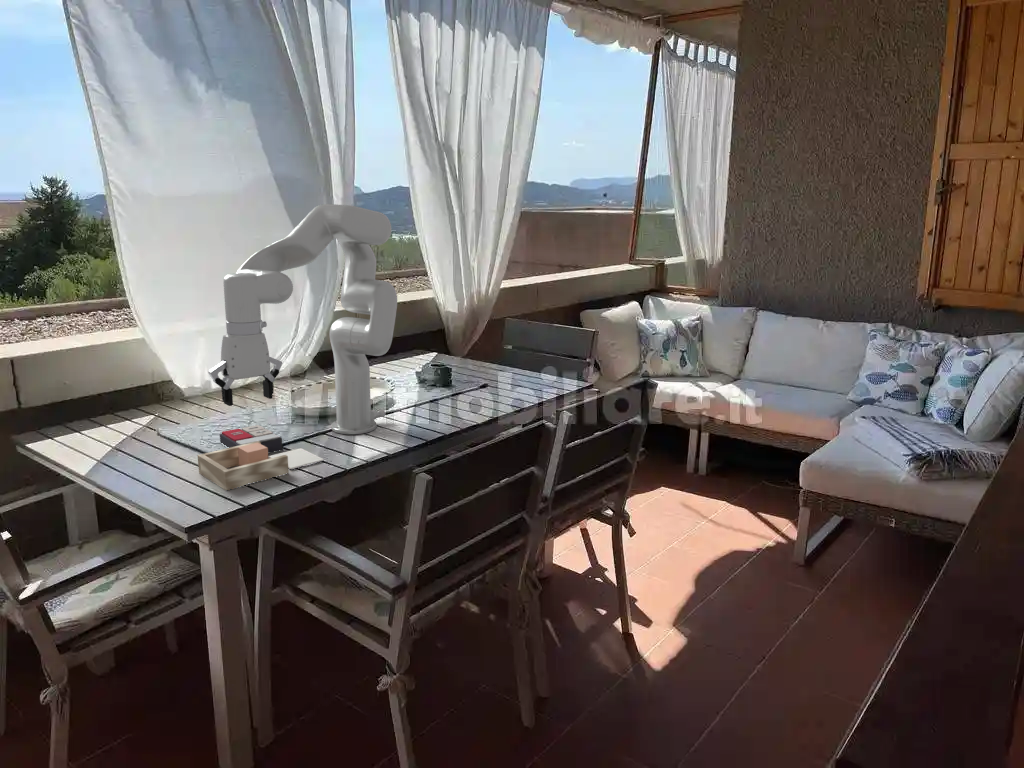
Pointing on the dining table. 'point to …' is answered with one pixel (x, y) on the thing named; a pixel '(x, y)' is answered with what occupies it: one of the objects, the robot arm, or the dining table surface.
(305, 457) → the mat
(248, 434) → the calculator
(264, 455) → the block
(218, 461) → the u-shaped frame
